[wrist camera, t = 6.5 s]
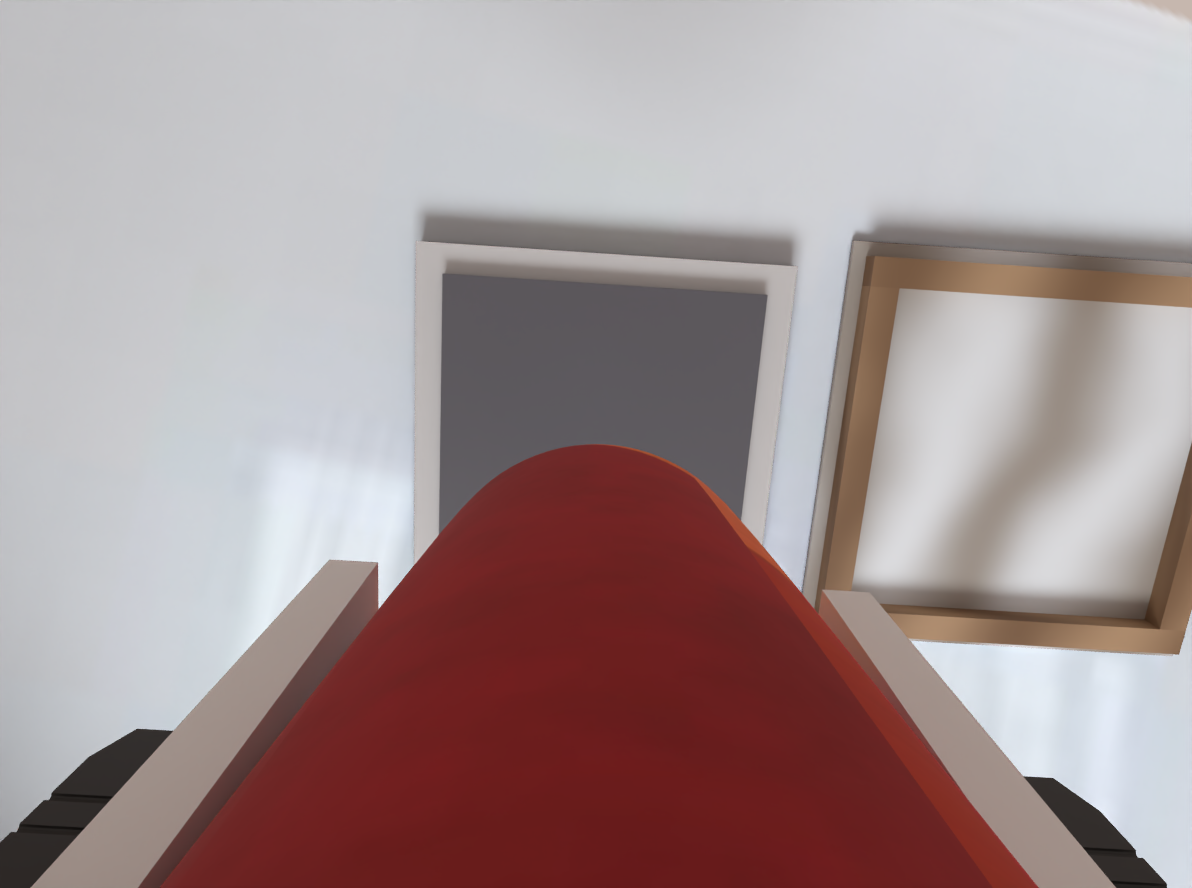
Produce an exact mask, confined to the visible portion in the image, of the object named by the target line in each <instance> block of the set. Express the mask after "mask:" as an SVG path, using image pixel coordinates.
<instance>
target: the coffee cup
mask: <svg viewBox="0 0 1192 888" xmlns="http://www.w3.org/2000/svg"><path fill="white" fill-rule="evenodd" d="M160 888H1039V887H1038V886H1037V885H1036V884H1035V882H1034V881H1033V880H1032V879H1031V877H1030V876H1029V875H1028V874H1027V872H1026V871H1025V870H1024V869H1023V868H1022V866H1021V865H1020V864H1019V863H1018V861H1017V860H1016V859H1015V858H1014V856H1013V855H1012V854H1011V853H1010V851H1009V850H1008V849H1007V848H1006V846H1005V845H1004V844H1003V843H1002V841H1001V840H1000V839H999V838H998V836H997V835H996V834H995V833H994V831H993V830H992V829H991V828H990V826H989V825H988V824H987V823H986V821H985V820H984V819H983V818H982V816H981V815H980V814H979V813H978V811H977V810H976V809H975V808H974V806H973V805H972V804H971V803H970V801H969V800H968V799H967V798H966V796H965V795H964V794H963V793H962V791H961V790H960V789H959V788H958V787H957V785H956V784H955V783H954V782H953V780H952V779H951V778H950V777H949V775H948V774H947V773H946V772H945V770H944V769H943V768H942V767H941V765H940V764H939V763H938V762H937V760H936V759H935V758H934V757H933V755H932V754H931V753H930V752H929V750H928V749H927V748H926V747H925V745H924V744H923V743H922V742H921V740H920V739H919V738H918V737H917V735H916V734H915V733H914V732H913V730H912V729H911V728H910V727H909V725H908V724H907V723H906V722H905V720H904V719H903V718H902V717H901V716H900V714H899V713H898V712H897V711H896V709H895V708H894V707H893V706H892V704H891V703H890V702H889V701H888V699H887V698H886V697H885V696H884V695H883V693H882V692H881V691H880V690H879V688H878V687H877V686H876V685H875V683H874V682H873V681H872V680H871V678H870V677H869V676H868V675H867V673H866V672H865V671H864V670H863V669H862V667H861V666H860V665H859V664H858V662H857V661H856V660H855V659H854V657H853V656H852V655H851V654H850V652H849V651H848V650H847V649H846V648H845V646H844V645H843V644H842V643H841V641H840V640H839V639H838V638H837V636H836V635H835V634H834V633H833V631H832V630H831V629H830V628H829V627H828V625H827V624H826V623H825V622H824V620H823V619H822V618H821V617H820V615H819V614H818V613H817V612H816V610H815V609H814V608H813V607H812V606H811V604H810V603H809V602H808V601H807V599H806V598H805V597H804V596H803V594H802V593H801V592H800V591H799V590H798V588H797V587H796V586H795V585H794V583H793V582H792V581H791V580H790V579H789V577H788V576H787V575H786V574H785V573H784V571H783V570H782V569H781V568H780V566H779V565H778V564H777V563H776V562H775V560H774V559H773V558H772V557H771V556H770V554H769V553H768V552H767V551H766V550H765V548H764V547H763V546H762V545H761V543H760V542H759V541H758V540H757V539H756V537H755V536H754V535H753V534H752V533H751V532H750V531H749V529H748V528H747V527H746V526H745V525H744V524H743V523H742V521H741V520H740V519H739V518H738V517H737V516H736V515H735V514H734V512H733V511H732V510H731V509H730V508H729V507H728V506H727V504H726V503H725V502H723V501H722V500H721V499H720V498H719V497H718V496H717V495H716V494H715V493H714V492H713V491H712V490H711V489H710V488H709V487H708V486H707V485H705V484H704V483H703V482H702V481H701V480H699V479H698V478H697V477H695V476H694V475H692V474H691V473H689V472H688V471H686V470H685V469H683V468H681V467H680V466H678V465H676V464H674V463H672V462H670V461H668V460H666V459H664V458H661V457H659V456H656V455H654V454H651V453H648V452H645V451H641V450H638V449H633V448H629V447H624V446H616V445H605V444H585V445H574V446H568V447H562V448H558V449H554V450H550V451H547V452H544V453H541V454H538V455H535V456H533V457H530V458H528V459H526V460H523V461H522V462H520V463H518V464H516V465H514V466H512V467H510V468H508V469H507V470H505V471H504V472H502V473H500V474H499V475H498V476H496V477H495V478H494V479H492V480H491V481H490V482H488V483H487V484H486V485H485V486H484V487H483V488H482V489H480V490H479V491H478V492H477V493H476V494H475V495H474V496H473V497H472V498H471V499H470V500H469V501H468V502H467V503H466V504H465V505H464V506H463V507H462V508H461V510H460V511H459V512H458V513H457V514H456V515H455V517H454V518H453V519H452V520H451V521H450V522H449V524H448V525H447V526H446V527H445V528H444V529H443V530H442V532H441V533H440V534H439V535H438V536H437V538H436V539H435V540H434V541H433V543H432V544H431V545H430V546H429V547H428V549H427V550H426V551H425V552H424V554H423V555H422V556H421V557H420V559H419V560H418V561H417V562H416V564H415V565H414V566H413V567H412V569H411V570H410V571H409V572H408V574H407V575H406V576H405V577H404V578H403V580H402V581H401V582H400V583H399V585H398V586H397V587H396V588H395V590H394V591H393V592H392V593H391V595H390V596H389V597H388V598H387V600H386V601H385V602H384V603H383V605H382V606H381V607H380V608H379V610H378V611H377V612H376V613H375V615H374V616H373V617H372V619H371V620H370V621H369V622H368V624H367V625H366V626H365V627H364V629H363V630H362V631H361V632H360V634H359V635H358V636H357V637H356V639H355V640H354V641H353V643H352V644H351V645H350V646H349V648H348V649H347V650H346V651H345V653H344V654H343V655H342V656H341V658H340V659H339V660H338V661H337V663H336V664H335V665H334V667H333V668H332V669H331V670H330V672H329V673H328V674H327V675H326V677H325V678H324V679H323V680H322V682H321V683H320V684H319V685H318V687H317V688H316V689H315V691H314V692H313V693H312V694H311V696H310V697H309V698H308V699H307V701H306V702H305V703H304V704H303V706H302V707H301V708H300V709H299V711H298V712H297V713H296V715H295V716H294V717H293V718H292V720H291V721H290V722H289V723H288V725H287V726H286V727H285V728H284V730H283V731H282V732H281V734H280V735H279V736H278V737H277V739H276V740H275V741H274V742H273V744H272V745H271V746H270V748H269V749H268V750H267V751H266V753H265V754H264V755H263V756H262V758H261V759H260V760H259V762H258V763H257V764H256V765H255V767H254V768H253V769H252V770H251V772H250V773H249V774H248V776H247V777H246V778H245V779H244V781H243V782H242V783H241V784H240V786H239V787H238V788H237V790H236V791H235V792H234V793H233V795H232V796H231V797H230V798H229V800H228V801H227V802H226V804H225V805H224V806H223V807H222V809H221V810H220V811H219V812H218V814H217V815H216V816H215V818H214V819H213V820H212V821H211V823H210V824H209V825H208V826H207V828H206V829H205V830H204V832H203V833H202V834H201V835H200V837H199V838H198V839H197V841H196V842H195V843H194V844H193V846H192V847H191V848H190V849H189V851H188V852H187V853H186V855H185V856H184V857H183V858H182V860H181V861H180V862H179V863H178V865H177V866H176V867H175V869H174V870H173V871H172V872H171V874H170V875H169V876H168V877H167V879H166V880H165V881H164V883H163V884H162V885H161V886H160Z"/></svg>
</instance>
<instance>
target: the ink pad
mask: <svg viewBox="0 0 1192 888" xmlns="http://www.w3.org/2000/svg"><path fill="white" fill-rule="evenodd" d="M797 269H798V266H783V265H768V264H753V263H738V262H723V261H708V260H693V259H678V258H663V257H648V256H633V255H618V254H603V253H588V252H573V251H558V250H543V249H528V248H513V247H498V246H483V245H468V244H453V243H438V242H423V241H416V287H415V480H414V565H415V564H416V562H417V561H418V560H419V559H420V557H421V556H422V555H423V554H424V552H425V551H426V550H427V549H428V547H429V546H430V545H431V544H432V543H433V541H434V540H435V539H436V538H437V536H438V535H439V534H440V533H441V532H442V530H443V529H444V528H445V527H446V526H447V525H448V524H449V522H450V521H451V520H452V519H453V518H454V517H455V515H456V514H457V513H458V512H459V511H460V510H461V508H462V507H463V506H464V505H465V504H466V503H467V502H468V501H469V500H470V499H471V498H472V497H473V496H474V495H475V494H476V493H477V492H478V491H479V490H480V489H482V488H483V487H484V486H485V485H486V484H487V483H488V482H490V481H491V480H492V479H494V478H495V477H496V476H498V475H499V474H500V473H502V472H504V471H505V470H507V469H508V468H510V467H512V466H514V465H516V464H518V463H520V462H522V461H523V460H526V459H528V458H530V457H533V456H535V455H538V454H541V453H544V452H547V451H550V450H554V449H558V448H562V447H568V446H574V445H585V444H605V445H616V446H624V447H629V448H633V449H638V450H641V451H645V452H648V453H651V454H654V455H656V456H659V457H661V458H664V459H666V460H668V461H670V462H672V463H674V464H676V465H678V466H680V467H681V468H683V469H685V470H686V471H688V472H689V473H691V474H692V475H694V476H695V477H697V478H698V479H699V480H701V481H702V482H703V483H704V484H705V485H707V486H708V487H709V488H710V489H711V490H712V491H713V492H714V493H715V494H716V495H717V496H718V497H719V498H720V499H721V500H722V501H723V502H725V503H726V504H727V506H728V507H729V508H730V509H731V510H732V511H733V512H734V514H735V515H736V516H737V517H738V518H739V519H740V520H741V521H742V523H743V524H744V525H745V526H746V527H747V528H748V529H749V531H750V532H751V533H752V534H753V535H754V536H755V537H756V539H757V540H758V541H759V542H760V543H761V545H763V537H764V529H765V521H766V513H767V505H768V497H769V490H770V482H771V474H772V466H773V458H774V450H775V442H776V434H777V426H778V419H779V411H780V403H781V395H782V387H783V379H784V371H785V363H786V355H787V348H788V340H789V332H790V324H791V316H792V308H793V300H794V292H795V284H796V277H797Z"/></svg>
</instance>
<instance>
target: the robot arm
mask: <svg viewBox="0 0 1192 888" xmlns="http://www.w3.org/2000/svg"><path fill="white" fill-rule="evenodd" d="M377 611H378V563H376V562H360V561H343V560H329V561H328V562H327V563H326V564H325V565H324V566H323V567H322V568H321V570H320V571H319V572H318V573H317V574H316V575H315V576H314V577H313V578H312V579H311V581H310V582H309V583H308V584H307V585H306V586H305V587H304V588H303V589H302V590H301V592H300V593H299V594H298V595H297V596H296V597H295V598H294V599H293V600H292V601H291V602H290V604H289V605H288V606H287V607H286V608H285V609H284V610H283V611H282V612H281V613H280V615H279V616H278V617H277V618H276V619H275V620H274V621H273V622H272V623H271V624H270V626H269V627H268V628H267V629H266V630H265V631H264V632H263V633H262V634H261V635H260V637H259V638H258V639H257V640H256V641H255V642H254V643H253V644H252V645H251V646H250V647H249V649H248V650H247V651H246V652H245V653H244V654H243V655H242V656H241V657H240V658H239V660H238V661H237V662H236V663H235V664H234V665H233V666H232V667H231V668H230V669H229V671H228V672H227V673H226V674H225V675H224V676H223V677H222V678H221V679H220V680H219V681H218V683H217V684H216V685H215V686H214V687H213V688H212V689H211V690H210V691H209V692H208V694H207V695H206V696H205V697H204V698H203V699H202V700H201V701H200V702H199V703H198V705H197V706H196V707H195V708H194V709H193V710H192V711H191V712H190V713H189V714H188V716H187V717H186V718H185V719H184V720H183V721H182V722H181V723H180V724H179V725H178V726H177V728H176V729H175V730H174V731H166V730H148V729H136V730H134V731H133V732H131V733H129V734H127V735H126V736H124V737H122V738H121V739H119V740H117V741H115V742H114V743H112V744H110V745H109V746H107V747H105V748H104V749H102V750H100V751H98V752H97V753H95V754H93V755H92V756H90V757H88V758H87V759H86V760H85V761H84V762H83V763H82V764H81V765H80V766H79V767H78V768H77V769H76V770H75V771H74V772H73V773H72V774H71V775H70V776H69V777H68V778H67V779H66V780H65V781H63V782H62V783H61V784H60V785H59V786H58V787H57V788H56V789H55V790H54V791H53V792H52V794H51V798H50V800H49V801H48V800H44V801H43V802H42V803H41V804H40V805H39V806H38V807H37V808H36V809H34V810H33V811H32V812H31V813H30V814H29V815H28V816H27V817H26V818H25V819H24V820H23V821H22V822H21V823H20V824H19V829H18V831H17V832H11V833H10V834H9V835H8V836H7V837H6V838H4V839H3V840H2V841H1V842H0V888H160V886H161V885H162V884H163V883H164V881H165V880H166V879H167V877H168V876H169V875H170V874H171V872H172V871H173V870H174V869H175V867H176V866H177V865H178V863H179V862H180V861H181V860H182V858H183V857H184V856H185V855H186V853H187V852H188V851H189V849H190V848H191V847H192V846H193V844H194V843H195V842H196V841H197V839H198V838H199V837H200V835H201V834H202V833H203V832H204V830H205V829H206V828H207V826H208V825H209V824H210V823H211V821H212V820H213V819H214V818H215V816H216V815H217V814H218V812H219V811H220V810H221V809H222V807H223V806H224V805H225V804H226V802H227V801H228V800H229V798H230V797H231V796H232V795H233V793H234V792H235V791H236V790H237V788H238V787H239V786H240V784H241V783H242V782H243V781H244V779H245V778H246V777H247V776H248V774H249V773H250V772H251V770H252V769H253V768H254V767H255V765H256V764H257V763H258V762H259V760H260V759H261V758H262V756H263V755H264V754H265V753H266V751H267V750H268V749H269V748H270V746H271V745H272V744H273V742H274V741H275V740H276V739H277V737H278V736H279V735H280V734H281V732H282V731H283V730H284V728H285V727H286V726H287V725H288V723H289V722H290V721H291V720H292V718H293V717H294V716H295V715H296V713H297V712H298V711H299V709H300V708H301V707H302V706H303V704H304V703H305V702H306V701H307V699H308V698H309V697H310V696H311V694H312V693H313V692H314V691H315V689H316V688H317V687H318V685H319V684H320V683H321V682H322V680H323V679H324V678H325V677H326V675H327V674H328V673H329V672H330V670H331V669H332V668H333V667H334V665H335V664H336V663H337V661H338V660H339V659H340V658H341V656H342V655H343V654H344V653H345V651H346V650H347V649H348V648H349V646H350V645H351V644H352V643H353V641H354V640H355V639H356V637H357V636H358V635H359V634H360V632H361V631H362V630H363V629H364V627H365V626H366V625H367V624H368V622H369V621H370V620H371V619H372V617H373V616H374V615H375V613H376V612H377ZM819 615H820V617H821V618H822V619H823V620H824V622H825V623H826V624H827V625H828V627H829V628H830V629H831V630H832V631H833V633H834V634H835V635H836V636H837V638H838V639H839V640H840V641H841V643H842V644H843V645H844V646H845V648H846V649H847V650H848V651H849V652H850V654H851V655H852V656H853V657H854V659H855V660H856V661H857V662H858V664H859V665H860V666H861V667H862V669H863V670H864V671H865V672H866V673H867V675H868V676H869V677H870V678H871V680H872V681H873V682H874V683H875V685H876V686H877V687H878V688H879V690H880V691H881V692H882V693H883V695H884V696H885V697H886V698H887V699H888V701H889V702H890V703H891V704H892V706H893V707H894V708H895V709H896V711H897V712H898V713H899V714H900V716H901V717H902V718H903V719H904V720H905V722H906V723H907V724H908V725H909V727H910V728H911V729H912V730H913V732H914V733H915V734H916V735H917V737H918V738H919V739H920V740H921V742H922V743H923V744H924V745H925V747H926V748H927V749H928V750H929V752H930V753H931V754H932V755H933V757H934V758H935V759H936V760H937V762H938V763H939V764H940V765H941V767H942V768H943V769H944V770H945V772H946V773H947V774H948V775H949V777H950V778H951V779H952V780H953V782H954V783H955V784H956V785H957V787H958V788H959V789H960V790H961V791H962V793H963V794H964V795H965V796H966V798H967V799H968V800H969V801H970V803H971V804H972V805H973V806H974V808H975V809H976V810H977V811H978V813H979V814H980V815H981V816H982V818H983V819H984V820H985V821H986V823H987V824H988V825H989V826H990V828H991V829H992V830H993V831H994V833H995V834H996V835H997V836H998V838H999V839H1000V840H1001V841H1002V843H1003V844H1004V845H1005V846H1006V848H1007V849H1008V850H1009V851H1010V853H1011V854H1012V855H1013V856H1014V858H1015V859H1016V860H1017V861H1018V863H1019V864H1020V865H1021V866H1022V868H1023V869H1024V870H1025V871H1026V872H1027V874H1028V875H1029V876H1030V877H1031V879H1032V880H1033V881H1034V882H1035V884H1036V885H1037V886H1038V887H1039V888H1167V884H1166V882H1165V881H1164V880H1163V879H1162V878H1161V877H1160V876H1159V875H1158V874H1157V873H1156V872H1155V870H1154V869H1153V868H1152V867H1151V866H1150V865H1149V864H1148V863H1147V862H1146V861H1145V860H1144V859H1143V858H1138V857H1137V856H1136V850H1135V849H1134V848H1133V847H1132V846H1131V844H1130V843H1129V842H1128V841H1127V840H1126V839H1125V838H1124V837H1123V836H1122V835H1121V834H1120V833H1119V831H1118V830H1117V829H1116V828H1115V827H1114V826H1113V825H1112V824H1111V823H1110V822H1109V821H1108V819H1107V818H1106V817H1105V816H1104V815H1103V814H1102V813H1101V812H1100V811H1099V810H1097V809H1096V808H1095V807H1093V806H1092V805H1090V804H1089V803H1087V802H1086V801H1085V800H1083V799H1082V798H1080V797H1079V796H1078V795H1076V794H1075V793H1073V792H1072V791H1070V790H1069V789H1068V788H1066V787H1065V786H1063V785H1062V784H1061V783H1059V782H1058V781H1056V780H1055V779H1053V778H1042V777H1024V776H1022V774H1021V773H1020V772H1019V771H1018V770H1017V768H1016V767H1015V766H1014V765H1013V764H1012V762H1011V761H1010V760H1009V759H1008V758H1007V756H1006V755H1005V754H1004V753H1003V752H1002V750H1001V749H1000V748H999V747H998V746H997V744H996V743H995V742H994V741H993V740H992V738H991V737H990V736H989V735H988V734H987V732H986V731H985V730H984V729H983V728H982V726H981V725H980V724H979V723H978V722H977V720H976V719H975V718H974V717H973V716H972V714H971V713H970V712H969V711H968V710H967V708H966V707H965V706H964V705H963V704H962V702H961V701H960V700H959V699H958V698H957V696H956V695H955V694H954V693H953V692H952V690H951V689H950V688H949V687H948V686H947V684H946V683H945V682H944V681H943V680H942V678H941V677H940V676H939V675H938V674H937V672H936V671H935V670H934V669H933V668H932V666H931V665H930V664H929V663H928V662H927V660H926V659H925V658H924V657H923V656H922V654H921V653H920V652H919V651H918V650H917V648H916V647H915V646H914V645H913V644H912V642H911V641H910V640H909V639H908V638H907V636H906V635H905V634H904V633H903V632H902V630H901V629H900V628H899V627H898V626H897V624H896V623H895V622H894V621H893V620H892V618H891V617H890V616H889V615H888V614H887V612H886V611H885V610H884V609H883V608H882V606H881V605H880V604H879V603H878V602H877V601H876V599H875V598H874V597H873V596H872V595H871V593H870V592H855V591H838V590H822V594H821V601H820V607H819Z"/></svg>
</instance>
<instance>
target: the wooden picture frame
mask: <svg viewBox="0 0 1192 888" xmlns="http://www.w3.org/2000/svg"><path fill="white" fill-rule="evenodd" d="M822 590H838V591H855V592H870V593H871V595H872V596H873V597H874V598H875V599H876V601H877V602H878V603H879V604H880V605H881V606H882V608H883V609H884V610H885V611H886V612H887V614H888V615H889V616H890V617H891V618H892V620H893V621H894V622H895V623H896V624H897V626H898V627H899V628H900V629H901V630H902V632H903V633H904V634H905V635H906V636H907V638H908V639H909V640H910V641H925V642H942V643H959V644H976V645H993V646H1010V647H1027V648H1044V649H1060V650H1077V651H1094V652H1111V653H1128V654H1145V655H1162V656H1173V654H1179V652H1180V649H1181V645H1182V642H1183V638H1184V635H1185V631H1186V628H1187V624H1188V621H1189V617H1190V613H1191V610H1192V263H1180V262H1165V261H1150V260H1135V259H1121V258H1106V257H1091V256H1076V255H1061V254H1046V253H1031V252H1016V251H1002V250H987V249H972V248H957V247H942V246H927V245H912V244H897V243H882V242H868V241H852V247H851V254H850V261H849V268H848V275H847V282H846V289H845V296H844V303H843V310H842V317H841V324H840V331H839V338H838V345H837V352H836V359H835V366H834V373H833V380H832V387H831V394H830V401H829V408H828V415H827V422H826V429H825V436H824V443H823V450H822V457H821V464H820V471H819V478H818V484H817V491H816V498H815V505H814V512H813V519H812V526H811V533H810V540H809V547H808V554H807V561H806V568H805V575H804V582H803V589H802V594H803V596H804V597H805V598H806V599H807V601H808V602H809V603H810V604H811V606H812V607H813V608H814V609H815V610H816V612H817V613H818V614H819V607H820V601H821V594H822Z"/></svg>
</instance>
